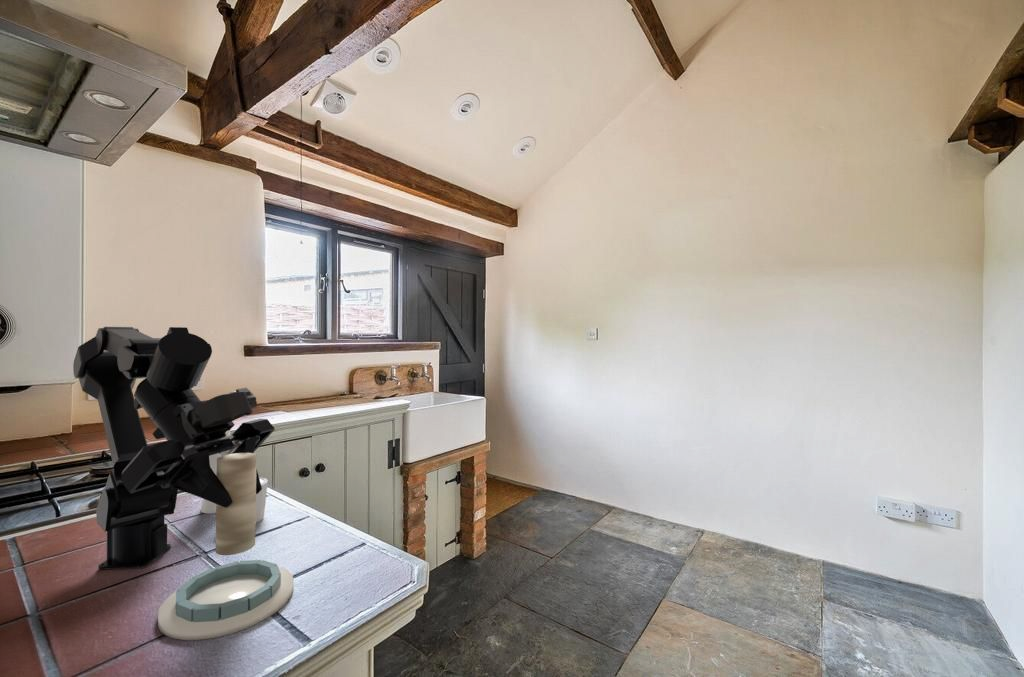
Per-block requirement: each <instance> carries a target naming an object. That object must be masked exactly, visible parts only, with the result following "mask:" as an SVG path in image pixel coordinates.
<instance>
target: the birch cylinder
mask: <svg viewBox="0 0 1024 677" xmlns="http://www.w3.org/2000/svg"><path fill="white" fill-rule="evenodd" d="M256 468H257V454H256V453H255V452H254V453H234V454H228V455H224V456H221V457H219V458H217V477H218V479H219V480H220V481H221V483H222V484H223V486H224V487H225V489H226V490H227V491H228V493H229V495H230V497H231V499H232V501H233V503H232V504H231V505H230V506H229V507H227V508H225V507H222V506H220V505H217V504H216V513H215V553H216V554H217V555H220V556H233V555H238V554H242V553H245V552H247V551H249V550H251V549H253V548H254V547H255V546H256V526H257V525H256V523H257V522H256Z"/></svg>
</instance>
